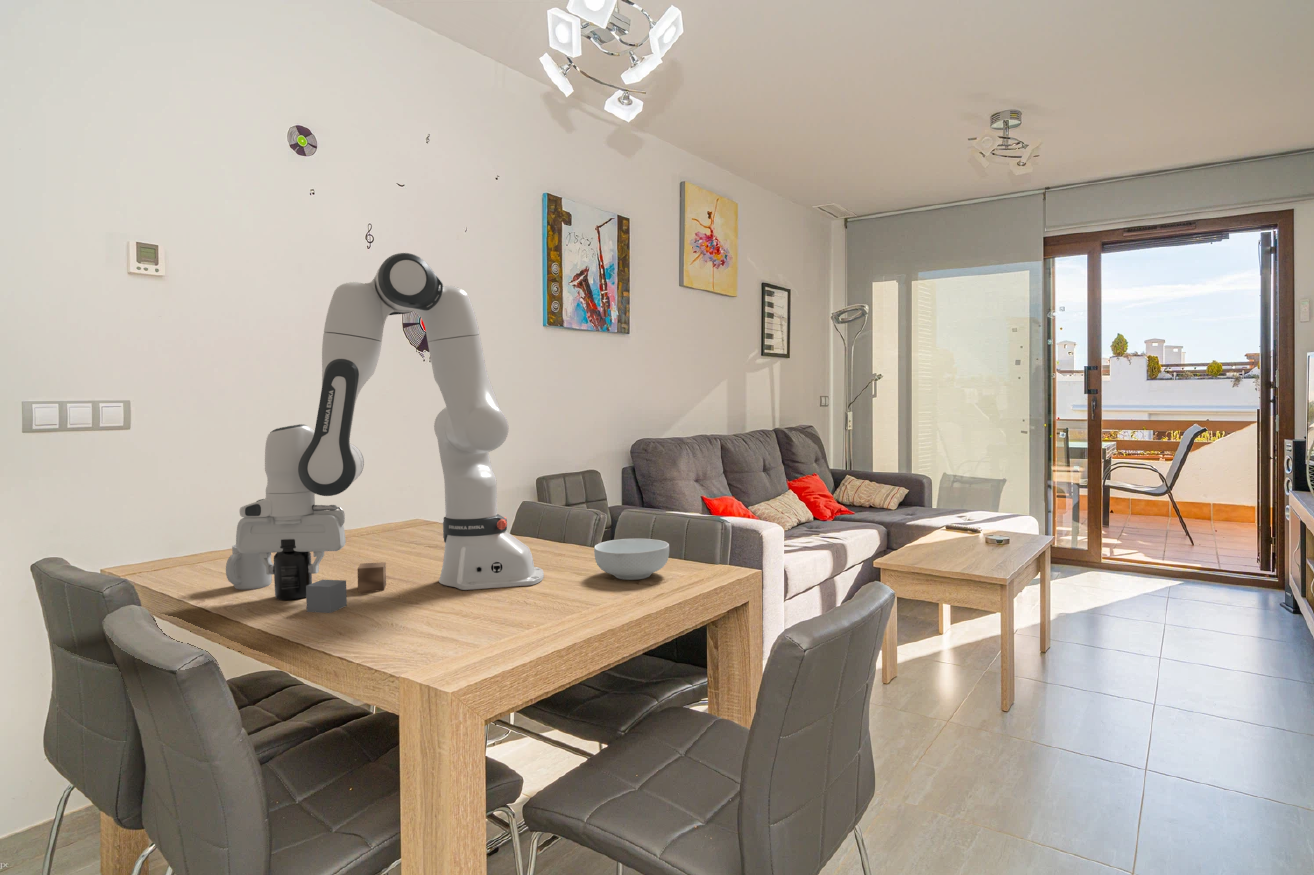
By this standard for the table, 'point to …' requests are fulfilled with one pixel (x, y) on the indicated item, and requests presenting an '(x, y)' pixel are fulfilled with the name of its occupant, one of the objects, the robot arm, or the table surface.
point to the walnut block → (371, 577)
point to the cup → (247, 570)
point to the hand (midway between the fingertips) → (292, 573)
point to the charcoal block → (326, 596)
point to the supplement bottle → (291, 572)
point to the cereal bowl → (631, 557)
